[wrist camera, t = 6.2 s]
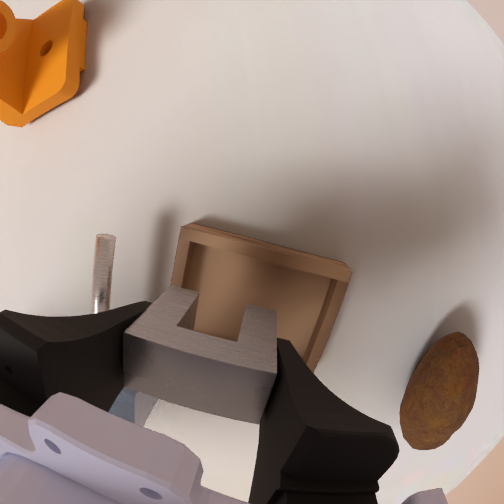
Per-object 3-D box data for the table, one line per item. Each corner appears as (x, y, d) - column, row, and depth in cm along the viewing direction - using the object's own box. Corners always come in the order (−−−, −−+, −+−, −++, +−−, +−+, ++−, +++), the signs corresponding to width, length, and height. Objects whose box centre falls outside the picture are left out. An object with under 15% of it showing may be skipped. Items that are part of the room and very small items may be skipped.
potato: (383, 429, 22) (402, 482, 15) (389, 329, 19) (427, 383, 13) (444, 409, 21) (471, 454, 14) (460, 308, 19) (509, 347, 12)
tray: (171, 332, 21) (161, 346, 19) (191, 222, 19) (181, 226, 17) (305, 367, 20) (308, 384, 18) (344, 263, 19) (352, 271, 17)
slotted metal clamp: (165, 328, 14) (123, 385, 9) (171, 284, 13) (123, 331, 8) (264, 354, 14) (258, 424, 9) (276, 310, 13) (276, 373, 8)
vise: (92, 373, 23) (59, 409, 17) (98, 216, 19) (44, 227, 13) (159, 400, 22) (135, 446, 17) (183, 239, 19) (146, 260, 13)
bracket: (85, 95, 17) (-30, 56, 6) (27, 128, 18) (-76, 118, 7) (89, 4, 15) (13, -52, 4) (34, 38, 16) (-44, 6, 5)
